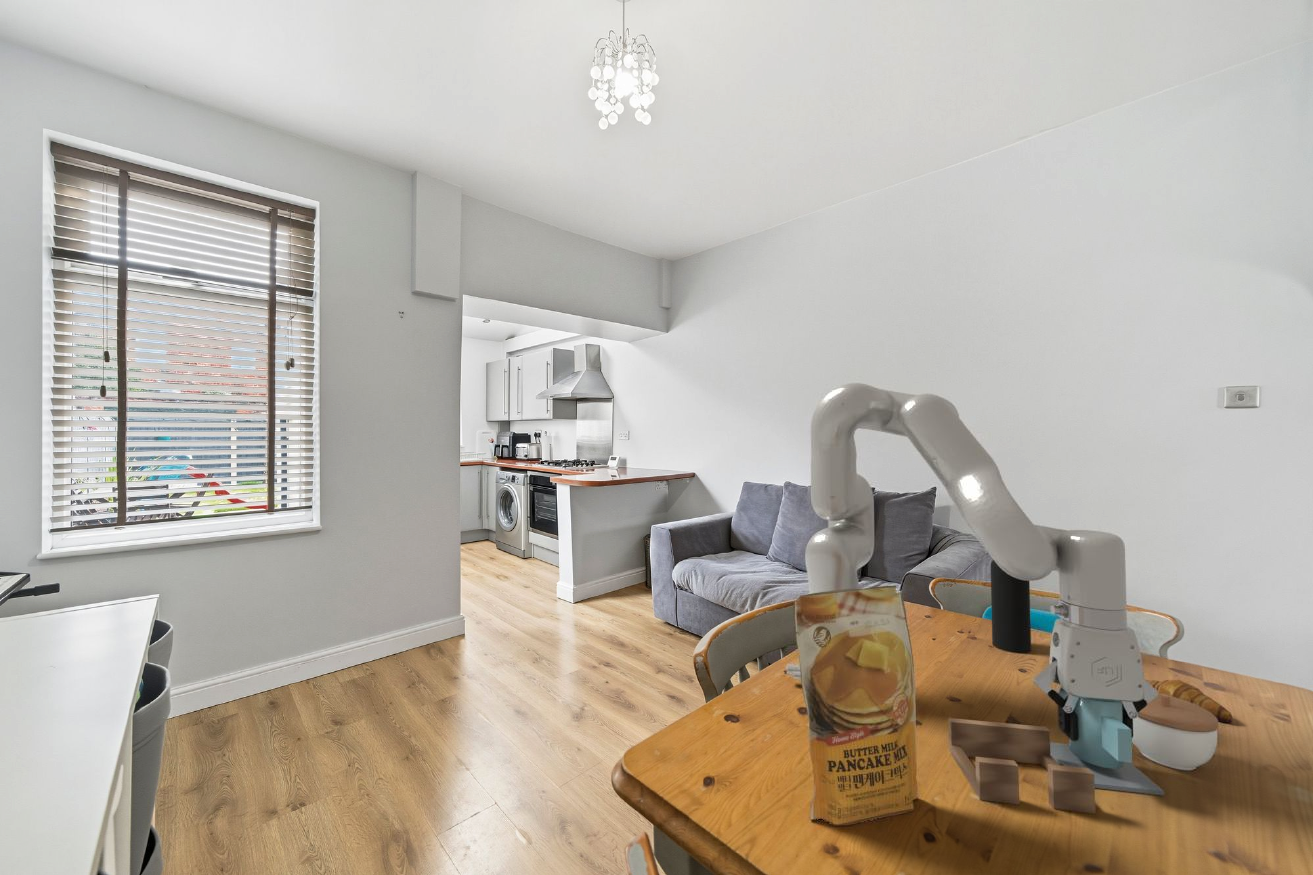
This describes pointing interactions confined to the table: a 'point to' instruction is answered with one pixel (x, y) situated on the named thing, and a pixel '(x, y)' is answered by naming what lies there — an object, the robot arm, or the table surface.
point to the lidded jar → (1175, 733)
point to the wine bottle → (1010, 611)
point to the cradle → (998, 766)
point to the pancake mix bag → (858, 702)
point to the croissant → (1191, 697)
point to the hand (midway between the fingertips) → (1095, 737)
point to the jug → (1101, 733)
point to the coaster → (1107, 773)
